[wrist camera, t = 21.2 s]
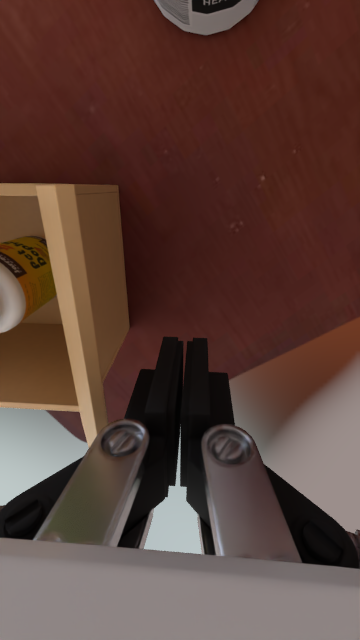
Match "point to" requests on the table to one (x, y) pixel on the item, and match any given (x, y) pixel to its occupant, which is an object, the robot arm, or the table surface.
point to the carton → (46, 323)
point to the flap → (74, 300)
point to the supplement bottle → (24, 279)
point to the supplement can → (205, 14)
